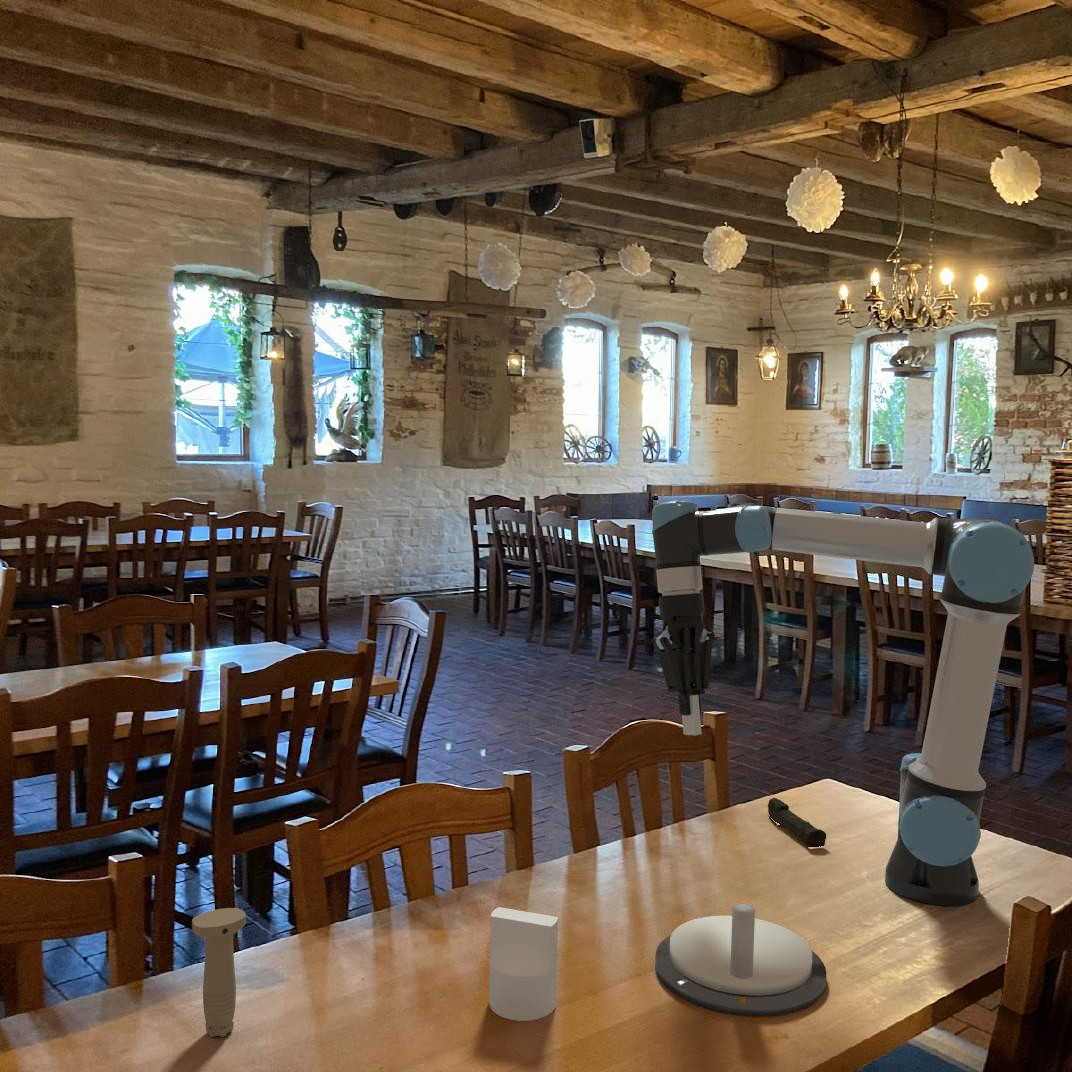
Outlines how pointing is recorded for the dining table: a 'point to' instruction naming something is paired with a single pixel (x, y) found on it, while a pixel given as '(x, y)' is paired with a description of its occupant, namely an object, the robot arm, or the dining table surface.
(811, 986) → the dial base
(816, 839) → the hand tool
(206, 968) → the handle
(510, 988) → the cylinder with rectangular tab
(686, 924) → the dial
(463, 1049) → the dining table surface
